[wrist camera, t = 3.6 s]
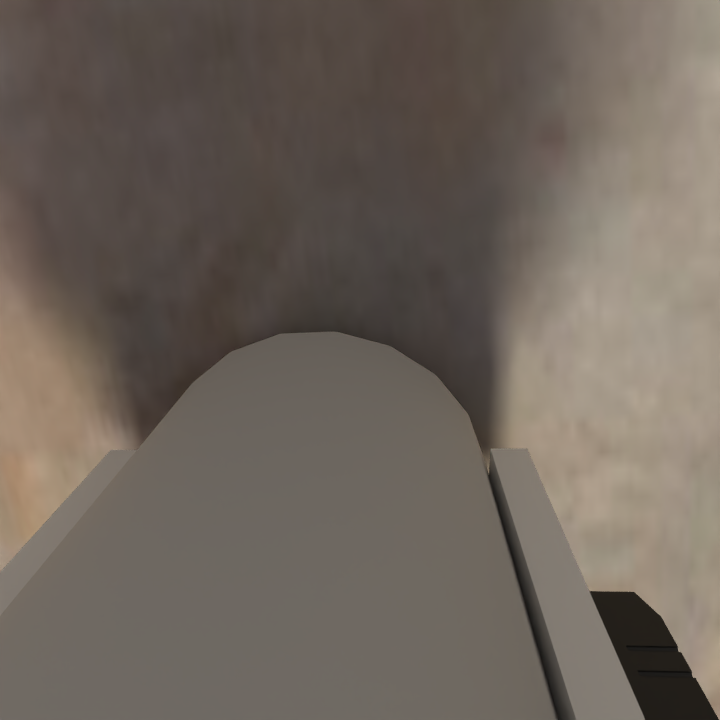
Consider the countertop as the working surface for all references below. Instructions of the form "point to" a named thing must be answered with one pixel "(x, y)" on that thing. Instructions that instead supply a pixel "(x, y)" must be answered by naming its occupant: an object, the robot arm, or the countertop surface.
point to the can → (286, 559)
